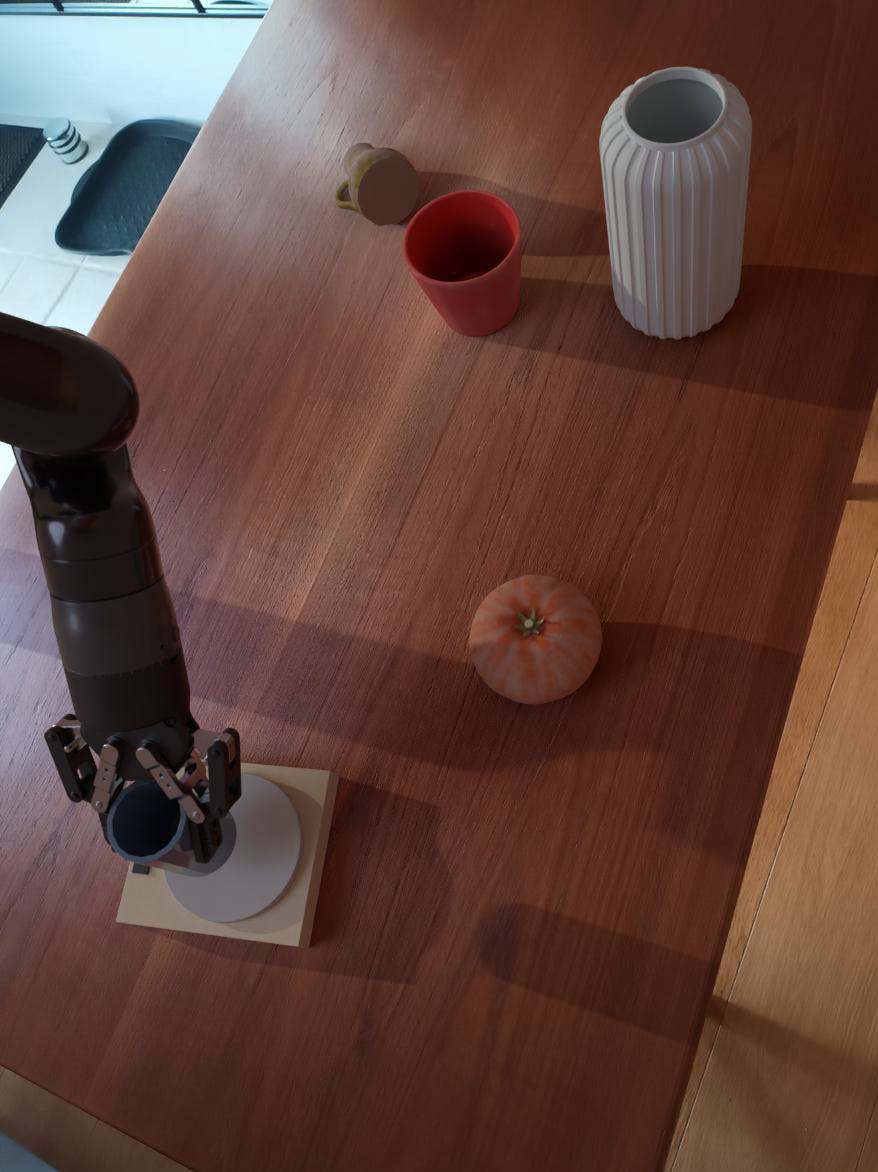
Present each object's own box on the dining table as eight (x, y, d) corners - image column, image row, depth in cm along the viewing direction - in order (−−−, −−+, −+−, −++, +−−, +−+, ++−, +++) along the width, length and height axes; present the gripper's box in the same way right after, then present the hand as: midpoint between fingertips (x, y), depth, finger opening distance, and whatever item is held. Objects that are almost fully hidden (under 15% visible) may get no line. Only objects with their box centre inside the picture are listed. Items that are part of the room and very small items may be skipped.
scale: (130, 924, 83) (110, 921, 80) (168, 760, 87) (150, 752, 84) (309, 948, 79) (294, 946, 76) (339, 776, 84) (327, 768, 81)
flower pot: (516, 359, 95) (499, 291, 86) (412, 341, 98) (385, 274, 89) (549, 270, 98) (536, 195, 89) (447, 255, 101) (424, 182, 92)
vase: (757, 326, 91) (779, 129, 70) (639, 370, 92) (626, 188, 71) (711, 236, 95) (719, 26, 75) (598, 279, 96) (576, 82, 76)
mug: (384, 150, 108) (397, 99, 98) (416, 235, 108) (433, 193, 98) (319, 168, 106) (327, 117, 96) (353, 254, 106) (363, 213, 97)
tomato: (617, 700, 81) (611, 670, 74) (490, 728, 82) (471, 700, 75) (590, 583, 85) (582, 543, 78) (469, 611, 86) (450, 574, 79)
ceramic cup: (153, 828, 78) (94, 809, 70) (216, 785, 78) (164, 760, 71) (185, 892, 76) (127, 880, 68) (250, 847, 76) (200, 829, 68)
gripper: (-11, 663, 63) (49, 873, 70) (192, 678, 60) (234, 896, 67) (59, 616, 70) (107, 812, 77) (246, 627, 67) (278, 831, 74)
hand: (166, 850), depth 72 cm, fingers closed on ceramic cup, 6 cm apart
